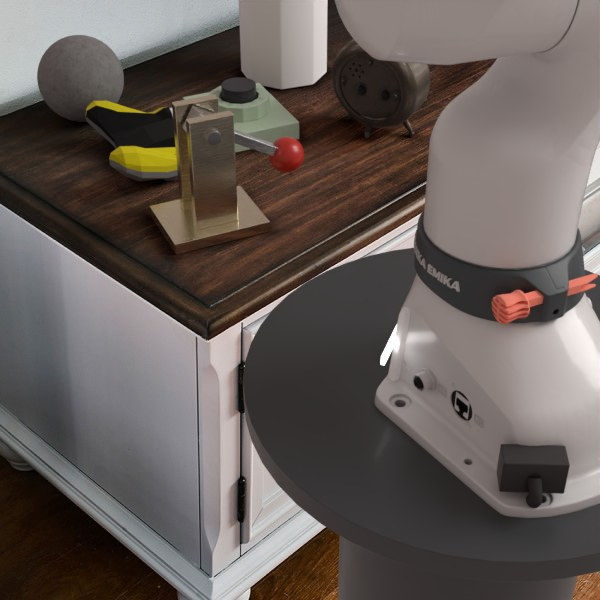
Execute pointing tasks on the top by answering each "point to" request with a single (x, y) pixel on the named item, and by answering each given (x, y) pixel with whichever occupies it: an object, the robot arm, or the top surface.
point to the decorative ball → (79, 75)
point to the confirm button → (238, 90)
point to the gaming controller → (137, 140)
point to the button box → (258, 116)
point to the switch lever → (265, 146)
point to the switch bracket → (206, 183)
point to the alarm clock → (378, 88)
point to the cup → (283, 41)
